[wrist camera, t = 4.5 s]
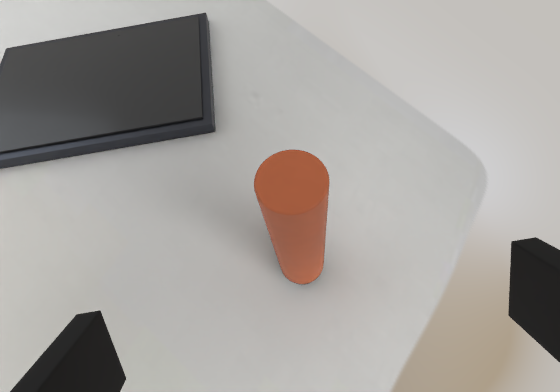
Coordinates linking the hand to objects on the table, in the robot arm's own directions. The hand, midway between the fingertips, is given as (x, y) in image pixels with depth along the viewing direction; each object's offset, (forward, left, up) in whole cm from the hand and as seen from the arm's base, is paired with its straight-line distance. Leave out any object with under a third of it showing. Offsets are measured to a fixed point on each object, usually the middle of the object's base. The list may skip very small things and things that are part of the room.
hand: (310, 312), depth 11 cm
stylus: (0, -4, -10) cm, 10 cm away
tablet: (+15, -23, -10) cm, 29 cm away
